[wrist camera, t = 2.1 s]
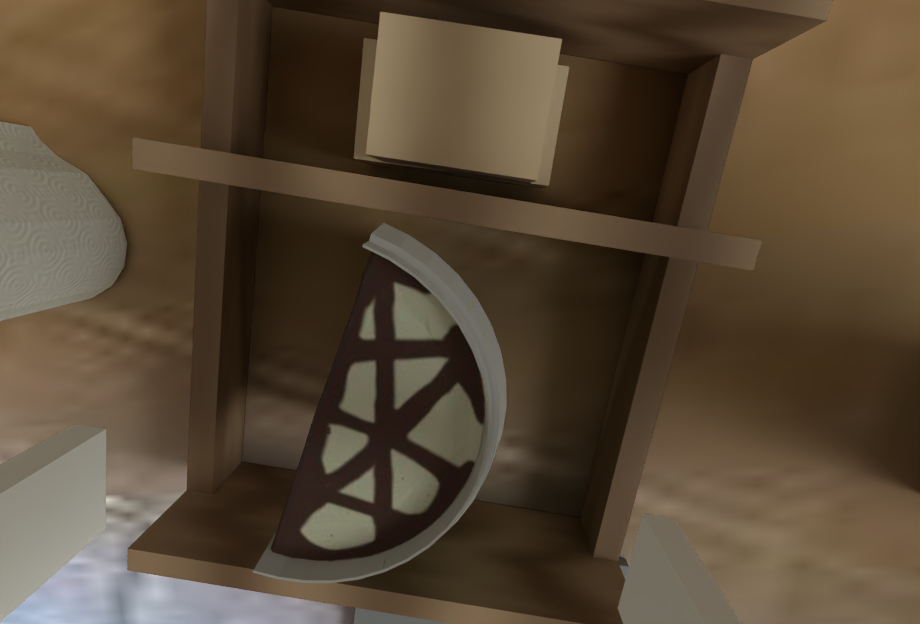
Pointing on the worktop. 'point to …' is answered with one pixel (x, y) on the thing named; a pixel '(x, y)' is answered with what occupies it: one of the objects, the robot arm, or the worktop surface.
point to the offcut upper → (461, 97)
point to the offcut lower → (360, 155)
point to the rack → (662, 241)
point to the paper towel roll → (51, 229)
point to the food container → (394, 423)
